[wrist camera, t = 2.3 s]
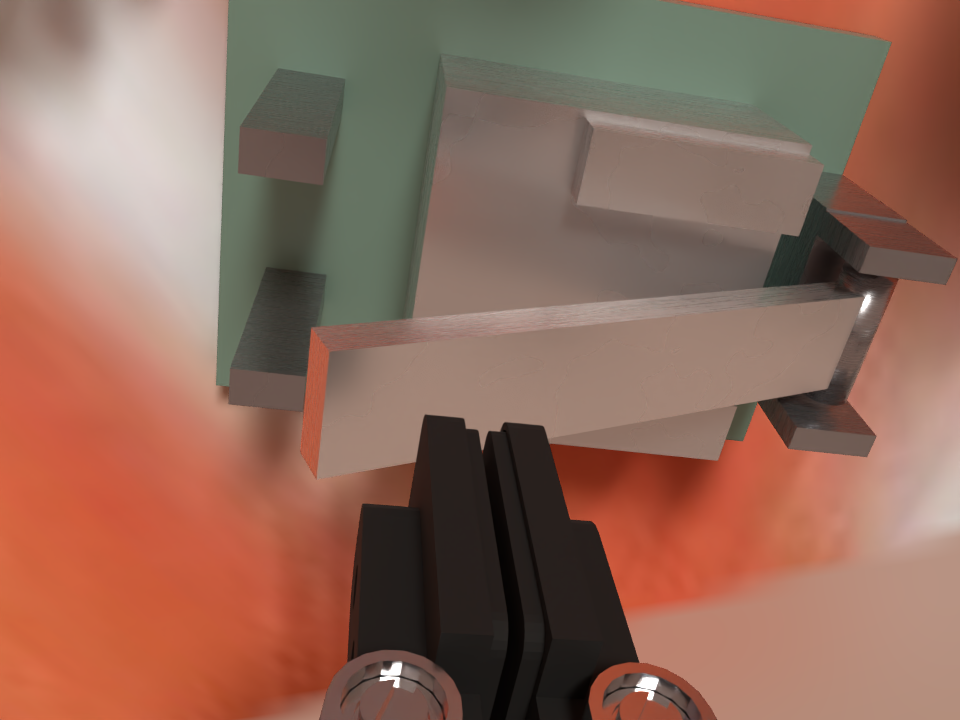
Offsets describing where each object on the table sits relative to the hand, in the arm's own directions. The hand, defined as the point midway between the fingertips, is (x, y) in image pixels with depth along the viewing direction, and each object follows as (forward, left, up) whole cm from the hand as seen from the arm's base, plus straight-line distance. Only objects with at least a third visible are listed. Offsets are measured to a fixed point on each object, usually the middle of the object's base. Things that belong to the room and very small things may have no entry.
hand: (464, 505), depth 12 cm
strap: (-4, 0, -6) cm, 7 cm away
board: (-2, 0, -13) cm, 14 cm away
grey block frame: (-3, 0, -12) cm, 13 cm away
